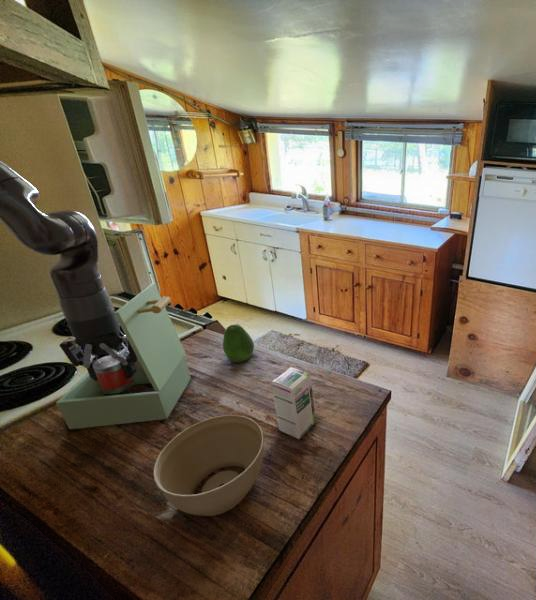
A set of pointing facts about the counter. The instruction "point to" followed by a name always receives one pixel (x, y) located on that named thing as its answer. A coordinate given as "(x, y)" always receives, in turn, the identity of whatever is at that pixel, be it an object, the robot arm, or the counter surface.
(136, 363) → the chest
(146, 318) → the lid
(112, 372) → the can
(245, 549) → the counter surface
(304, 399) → the syrup box
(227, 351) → the avocado
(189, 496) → the planter bowl
